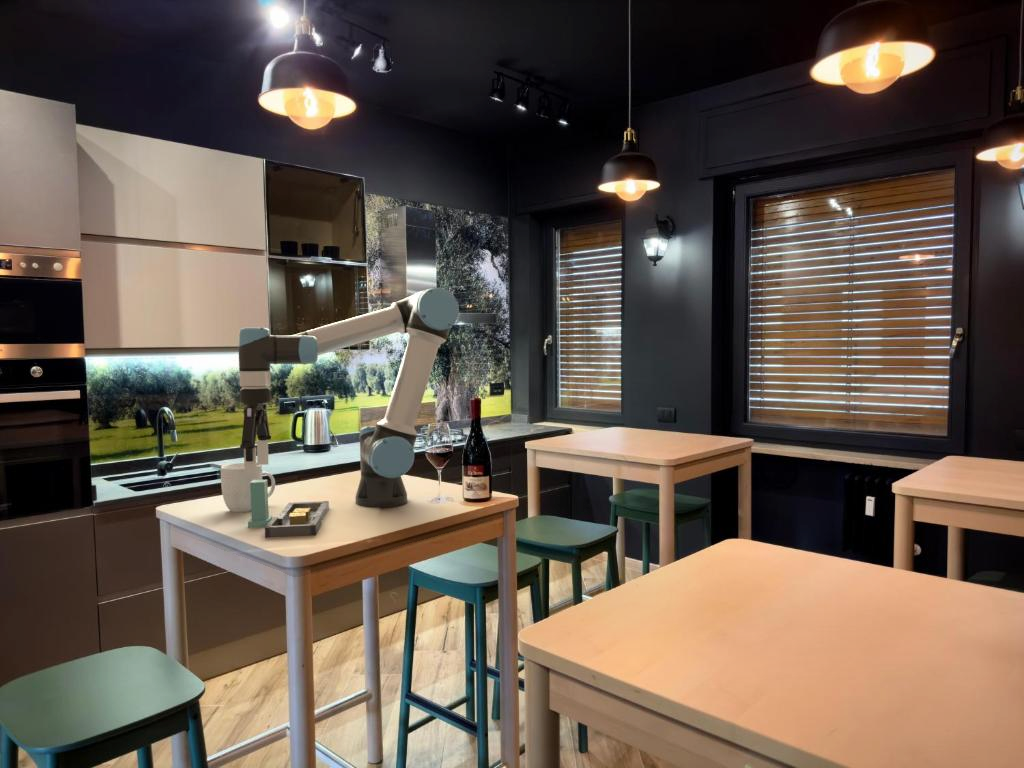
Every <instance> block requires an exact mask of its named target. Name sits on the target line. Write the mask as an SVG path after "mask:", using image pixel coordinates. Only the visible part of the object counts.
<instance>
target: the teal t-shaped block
mask: <svg viewBox="0 0 1024 768" xmlns="http://www.w3.org/2000/svg"><path fill="white" fill-rule="evenodd" d="M268 485H269V484H268V479H262V480H253V481H252V482H250V491H251V511H250V514H251V515H250V516H251V518H250V519H249V520H248V521H247V528H248V529H249V528H265V527H266V526H267V524H268V523H269V522H270V521H271V520H272V518H273V515H269V498H268V493H269V491H268V490H269V489H268V487H269V486H268Z"/></svg>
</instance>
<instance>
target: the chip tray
mask: <svg viewBox="0 0 1024 768" xmlns="http://www.w3.org/2000/svg"><path fill="white" fill-rule="evenodd" d="M322 523H323V520H321V515H316V517H315V519H314V520H313V522H312V524H304V525H283V526H279V521H278V516H272V520H271V521H270V522H269V523H268V524H267V526H266V527H264V538H265V539H269V538H270V539H272V538H291V537H292V538H293V537H311V536H313V537H314V536H317V534H318V532H319V531H320V528H321V526H322Z"/></svg>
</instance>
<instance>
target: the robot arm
mask: <svg viewBox="0 0 1024 768" xmlns="http://www.w3.org/2000/svg"><path fill="white" fill-rule="evenodd" d="M459 313H460V307H459V303H458V301H457V298H456V297H455V296H454V294H453V293H452V292H451V291H449V290H447V289H445V288H443V287H442V288H441V287H436V286H435V287H434V286H433V287H429V288H427V289H424V290H421V291H418V292H416V293H414V294H412V295H410V296H408V297H405V298H404V299H400V300H398V301H395V302H392V303H391V306H389V307H386V308H383V309H379V310H376V311H372V312H369V313H365V314H362V315H357V316H355V317H354V316H353V317H351V318H347V319H345V320H340V321H337V322H333V323H330V324H325V325H323V326H320V327H316V328H314V329H313V328H312V329H310V330H306V331H303V332H302V331H301V332H299V333H296V334H292V335H273V334H271V333H270V329H269V328H268V327H242V328H241V329H239V331H238V347H237V348H238V369H239V374H237V377H236V378H237V379H239V386H240V387H241V388H240V389H239V402H240V403H241V404H247V407H246V408H245V407H244V409H243V426H242V435H241V437H242V438H241V444H240V445H239V447H240V450H241V449H243V460H244V461H243V463H244V471H245V474H256V473H257V472H256V463H257V465H262V466H263V465H264V466H266V465H269V440H271V439H272V435H271V434H270V427H269V420H268V414H267V408H268V407H267V403H270V402H271V401H272V398H271V397H272V394H271V392H272V391H271V388H270V386H271V385H272V382H271V381H272V380H271V379H272V378H271V365H310V364H311V365H312V364H313V365H314V364H316V363H317V362H318V357H319V356H321V355H324V354H327V353H331V352H335V351H339V350H341V349H344V348H348V347H351V346H354V345H358V344H361V343H365V342H368V341H371V340H375V339H376V340H377V339H379V338H382V337H385V336H390V335H392V334H396V333H400V334H401V335H405V334H408V335H409V337H408V341H407V344H406V347H405V350H404V353H403V357H402V360H401V363H400V365H399V370H398V373H397V376H396V378H395V379H396V380H395V383H394V386H393V389H392V391H391V395H390V399H389V401H388V405H387V408H386V411H385V414H384V418H383V419H381V420H379V421H378V422H376V425H374V426H373V425H371V426H363V427H361V428H360V429H359V436H358V439H359V452H360V453H359V454H360V457H359V458H360V459H359V461H360V480H359V483H358V487H357V490H356V493H355V497H354V498H355V504H356V505H357V506H360V507H365V508H366V507H367V508H379V509H383V508H392V507H393V508H394V507H398V506H401V505H404V504H406V503H407V502H408V493H407V490H406V487H405V484H404V481H403V478H402V476H403V475H405V474H406V473H407V472H408V471H410V470H411V468H412V467H413V464H414V461H415V450H414V447H415V444H416V440H417V437H418V432H417V431H416V429H415V425H416V421H417V418H418V416H419V411H420V409H421V407H422V402H423V400H424V396H425V392H426V390H427V386H428V382H429V380H430V376H431V373H432V369H433V366H434V363H435V360H436V357H437V354H438V350H439V347H440V346H441V345H442V344H444V343H445V342H447V339H448V336H449V332H450V331H451V330H450V329H451V327H453V326H454V325H455V323H456V321H457V320H458V318H459V316H460V315H459Z"/></svg>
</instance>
